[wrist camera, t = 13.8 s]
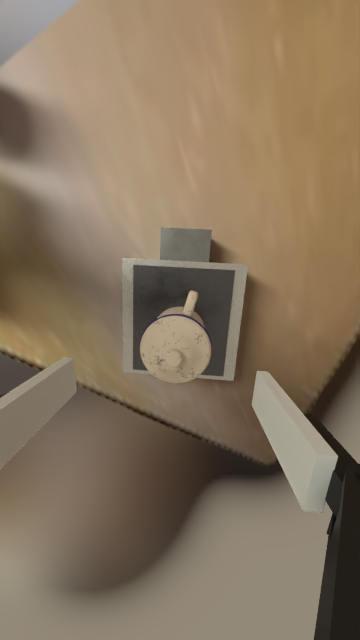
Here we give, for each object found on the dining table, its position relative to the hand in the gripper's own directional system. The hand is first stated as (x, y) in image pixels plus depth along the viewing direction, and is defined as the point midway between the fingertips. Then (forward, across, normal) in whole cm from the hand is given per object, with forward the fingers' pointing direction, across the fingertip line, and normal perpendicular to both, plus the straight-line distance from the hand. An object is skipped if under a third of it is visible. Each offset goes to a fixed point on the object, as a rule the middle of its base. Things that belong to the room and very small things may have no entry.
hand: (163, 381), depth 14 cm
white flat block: (+26, 0, +2) cm, 26 cm away
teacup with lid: (+19, +1, 0) cm, 19 cm away
